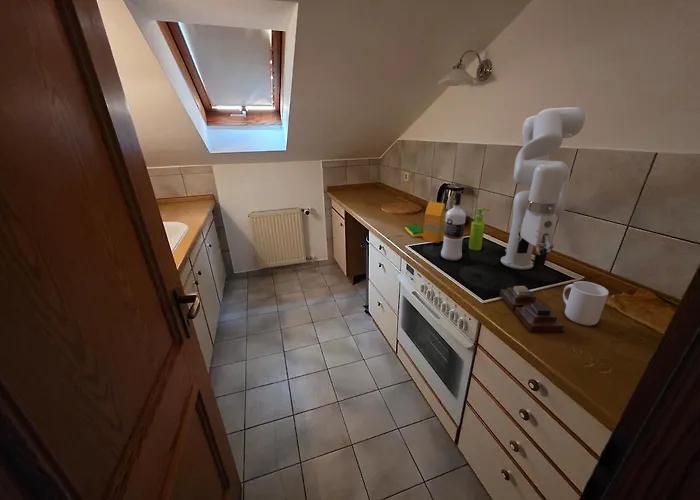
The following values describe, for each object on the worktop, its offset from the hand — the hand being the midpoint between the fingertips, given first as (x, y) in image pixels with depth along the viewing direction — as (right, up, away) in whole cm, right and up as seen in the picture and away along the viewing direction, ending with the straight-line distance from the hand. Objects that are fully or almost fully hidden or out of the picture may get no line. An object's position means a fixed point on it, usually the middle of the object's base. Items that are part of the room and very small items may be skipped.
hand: (529, 259), depth 96 cm
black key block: (0, -19, -4) cm, 20 cm away
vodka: (-11, -1, +42) cm, 43 cm away
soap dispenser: (+4, +4, +51) cm, 51 cm away
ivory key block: (0, -15, +7) cm, 16 cm away
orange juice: (-13, +9, +64) cm, 65 cm away
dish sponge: (-21, +13, +74) cm, 78 cm away
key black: (0, -16, -5) cm, 17 cm away
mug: (+14, -18, -1) cm, 23 cm away
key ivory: (0, -12, +5) cm, 13 cm away
